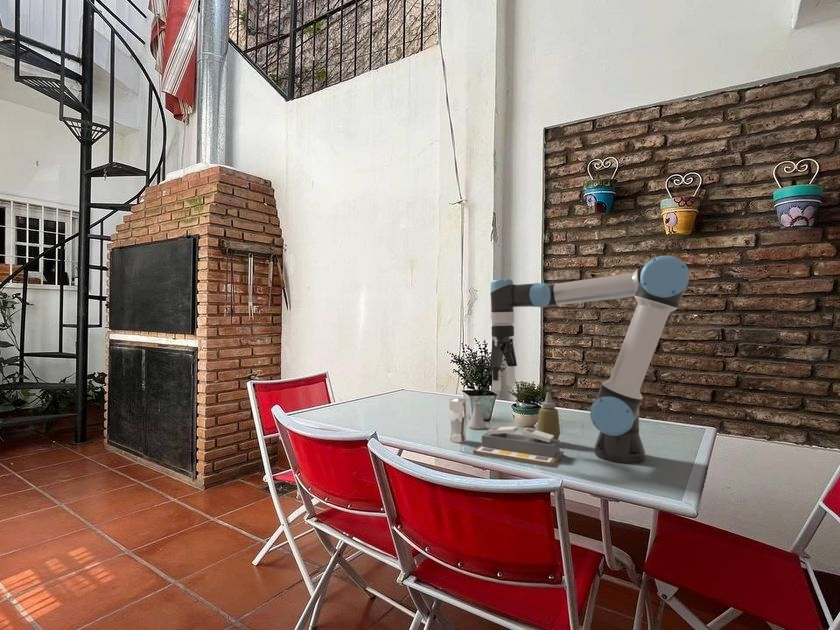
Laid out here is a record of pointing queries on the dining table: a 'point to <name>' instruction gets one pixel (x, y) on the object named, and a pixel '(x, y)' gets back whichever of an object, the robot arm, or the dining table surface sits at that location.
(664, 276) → the robot arm
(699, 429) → the dining table surface
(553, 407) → the squeeze bottle
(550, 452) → the switch box
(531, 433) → the near switch
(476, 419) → the flask
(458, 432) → the beer glass
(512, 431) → the far switch
